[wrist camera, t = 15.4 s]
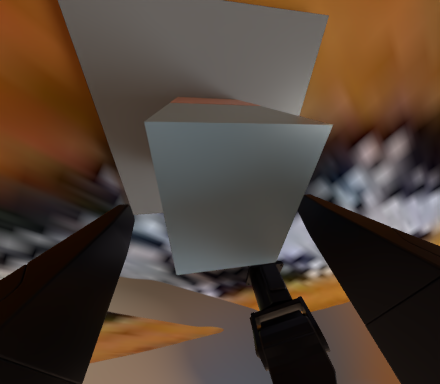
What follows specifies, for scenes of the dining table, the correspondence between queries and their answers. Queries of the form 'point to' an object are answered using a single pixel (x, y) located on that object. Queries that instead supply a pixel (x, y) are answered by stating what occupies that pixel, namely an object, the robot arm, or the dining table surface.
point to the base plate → (184, 66)
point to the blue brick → (230, 180)
